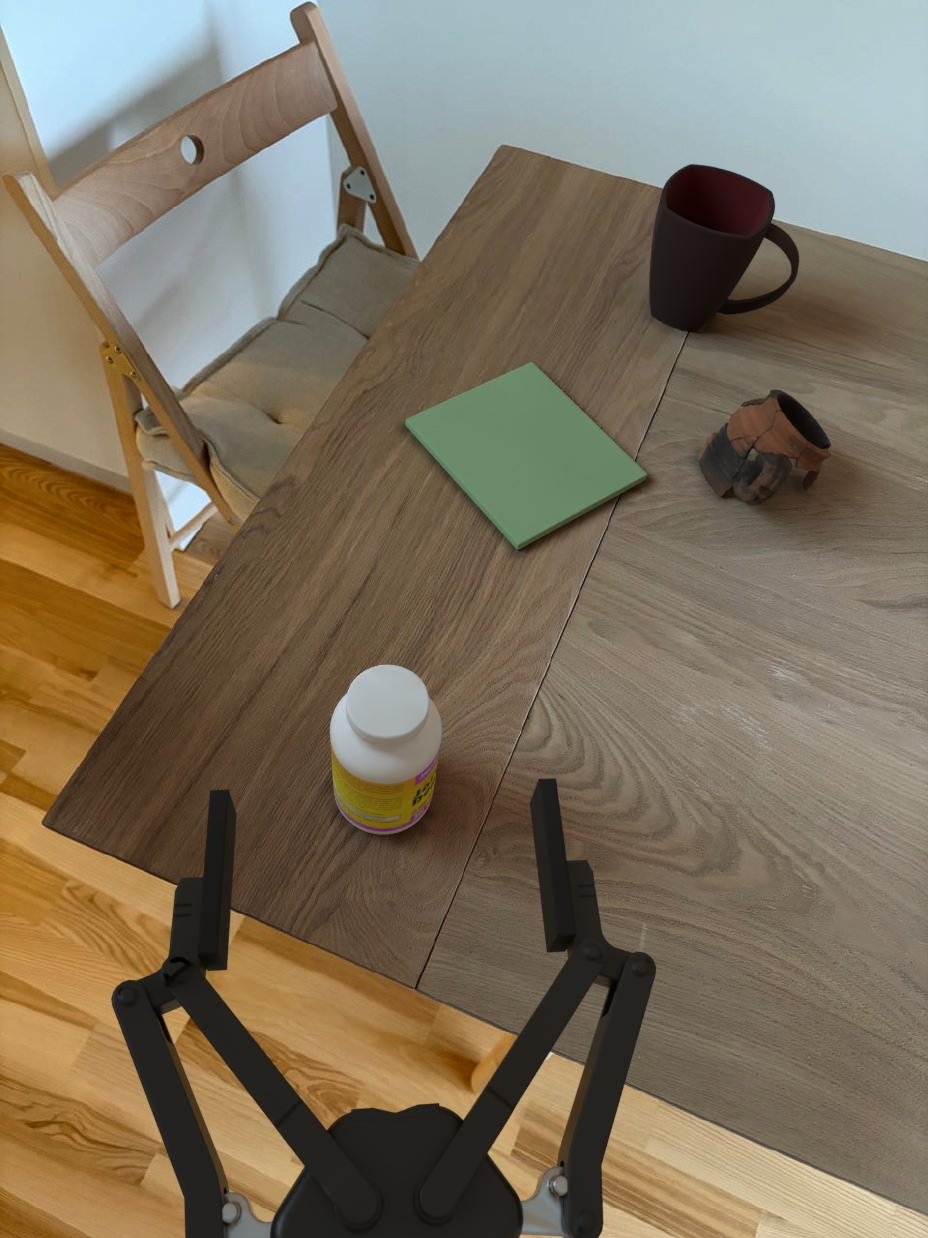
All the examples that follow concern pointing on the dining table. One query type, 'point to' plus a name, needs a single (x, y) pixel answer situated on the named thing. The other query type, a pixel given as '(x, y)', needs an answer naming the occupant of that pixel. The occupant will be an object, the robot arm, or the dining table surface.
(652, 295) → the mug
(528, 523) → the green mat
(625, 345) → the dining table surface
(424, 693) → the supplement bottle
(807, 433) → the pottery mug
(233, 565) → the dining table surface
